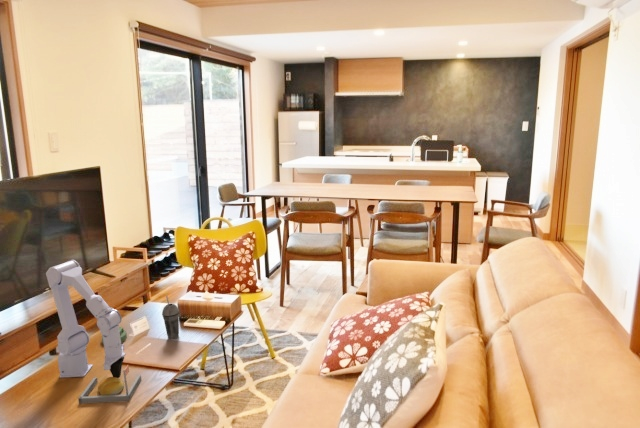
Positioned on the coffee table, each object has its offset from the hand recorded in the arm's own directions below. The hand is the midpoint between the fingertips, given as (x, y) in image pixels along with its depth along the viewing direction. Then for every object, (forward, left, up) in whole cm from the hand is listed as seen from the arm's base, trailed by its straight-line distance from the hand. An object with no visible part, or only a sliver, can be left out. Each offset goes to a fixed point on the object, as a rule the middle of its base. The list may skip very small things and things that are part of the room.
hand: (117, 377), depth 176 cm
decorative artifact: (-14, +34, -2) cm, 37 cm away
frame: (0, -6, -2) cm, 6 cm away
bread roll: (0, -5, -2) cm, 6 cm away
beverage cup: (+12, +33, -2) cm, 36 cm away
